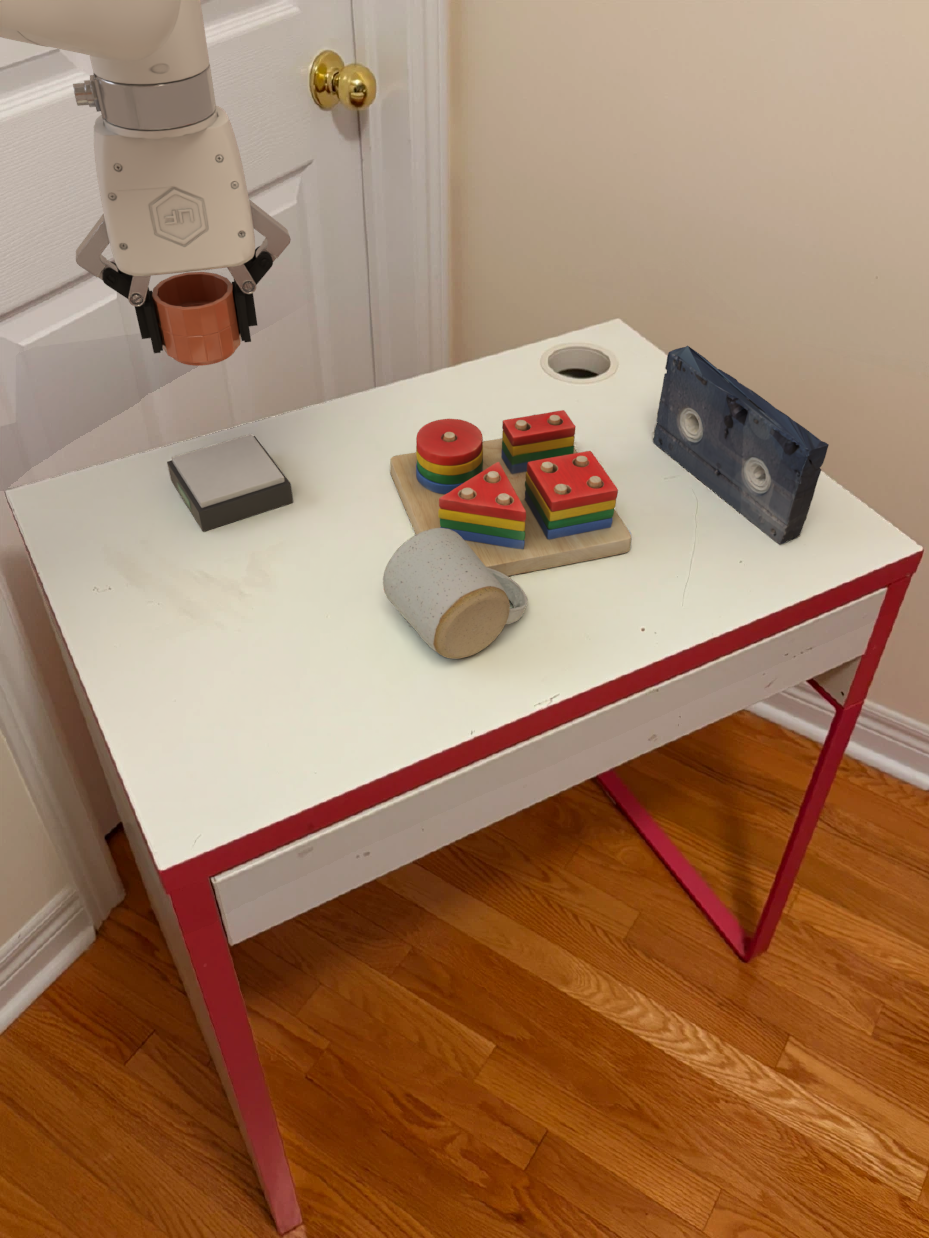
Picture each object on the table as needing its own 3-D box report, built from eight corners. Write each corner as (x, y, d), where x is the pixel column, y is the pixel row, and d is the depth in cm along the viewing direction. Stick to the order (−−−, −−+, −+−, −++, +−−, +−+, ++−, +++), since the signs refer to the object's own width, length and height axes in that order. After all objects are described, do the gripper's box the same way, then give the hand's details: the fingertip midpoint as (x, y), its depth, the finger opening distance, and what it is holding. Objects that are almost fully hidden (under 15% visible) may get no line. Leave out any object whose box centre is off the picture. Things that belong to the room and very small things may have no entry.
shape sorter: (631, 553, 91) (640, 497, 87) (439, 591, 87) (438, 534, 83) (560, 441, 103) (565, 387, 98) (388, 470, 99) (385, 416, 95)
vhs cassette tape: (802, 538, 93) (831, 444, 86) (776, 548, 91) (803, 454, 85) (675, 433, 104) (691, 343, 97) (651, 441, 103) (665, 351, 96)
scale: (202, 532, 92) (197, 507, 90) (170, 481, 98) (164, 456, 96) (293, 502, 95) (290, 477, 93) (257, 454, 101) (253, 430, 99)
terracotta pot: (151, 362, 82) (137, 302, 78) (185, 325, 86) (174, 267, 82) (222, 373, 81) (211, 313, 77) (253, 335, 85) (245, 277, 81)
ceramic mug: (436, 680, 80) (437, 606, 74) (382, 617, 85) (379, 543, 79) (548, 628, 84) (556, 555, 79) (490, 571, 89) (494, 499, 84)
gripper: (19, 127, 66) (88, 378, 78) (294, 105, 69) (318, 349, 82) (24, 88, 71) (88, 329, 84) (279, 70, 74) (303, 304, 87)
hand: (201, 337), depth 83 cm, fingers closed on terracotta pot, 6 cm apart
